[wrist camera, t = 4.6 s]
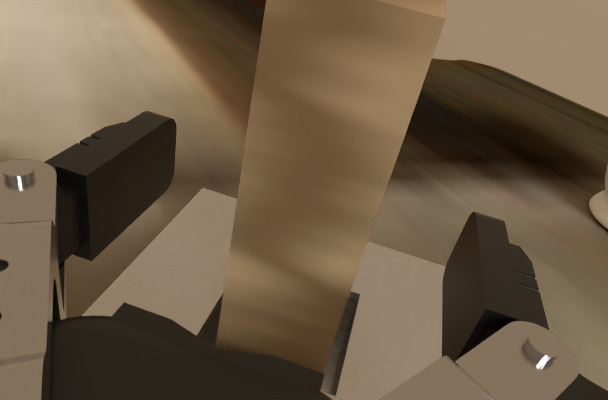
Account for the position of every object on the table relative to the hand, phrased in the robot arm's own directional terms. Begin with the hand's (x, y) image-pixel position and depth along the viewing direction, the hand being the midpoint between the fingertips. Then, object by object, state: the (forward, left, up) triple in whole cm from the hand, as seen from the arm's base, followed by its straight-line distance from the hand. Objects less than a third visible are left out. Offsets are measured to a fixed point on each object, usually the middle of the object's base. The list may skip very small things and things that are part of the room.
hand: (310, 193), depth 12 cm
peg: (0, -1, -9) cm, 9 cm away
